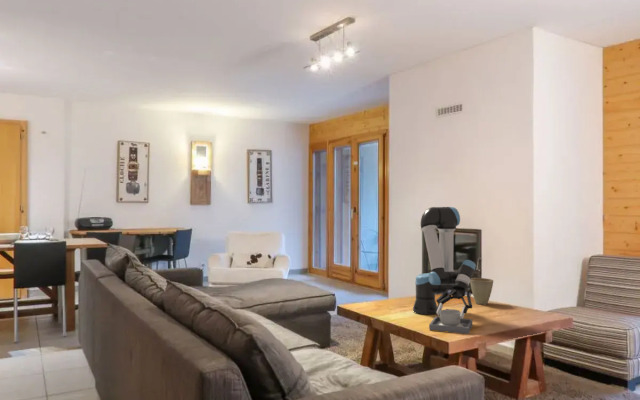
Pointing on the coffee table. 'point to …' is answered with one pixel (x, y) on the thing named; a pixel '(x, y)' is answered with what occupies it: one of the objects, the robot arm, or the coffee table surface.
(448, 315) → the teacup
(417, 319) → the coffee table surface
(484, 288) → the plant pot
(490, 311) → the coffee table surface
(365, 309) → the coffee table surface
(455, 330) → the tray
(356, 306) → the coffee table surface
